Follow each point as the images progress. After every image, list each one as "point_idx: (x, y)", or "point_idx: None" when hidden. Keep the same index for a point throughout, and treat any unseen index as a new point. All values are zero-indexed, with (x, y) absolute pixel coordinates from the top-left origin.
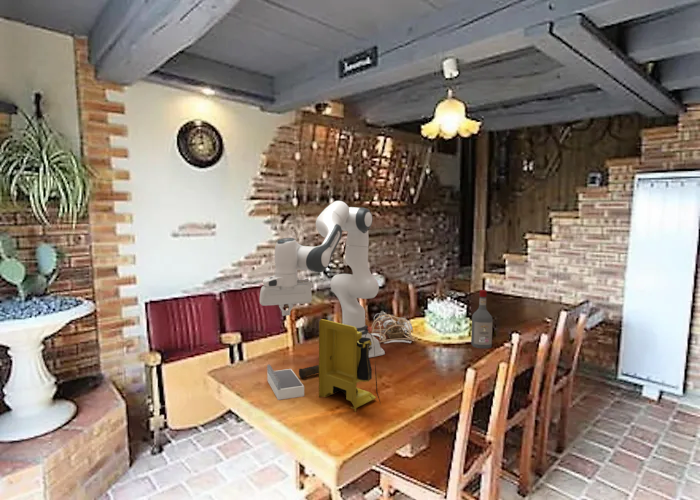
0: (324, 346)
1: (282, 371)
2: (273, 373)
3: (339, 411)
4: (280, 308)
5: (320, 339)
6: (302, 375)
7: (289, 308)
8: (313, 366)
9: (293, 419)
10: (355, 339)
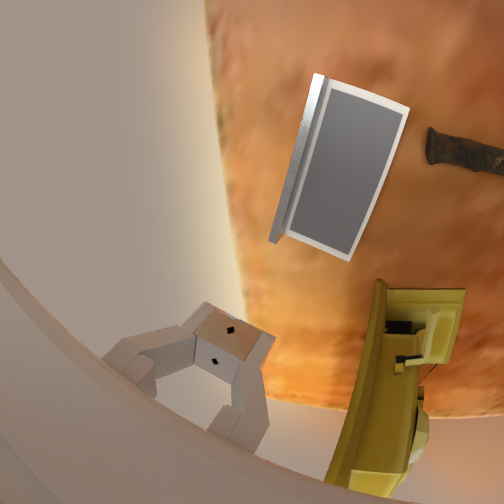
0: (369, 398)
1: (366, 112)
2: (290, 169)
3: (354, 347)
4: (149, 338)
5: (355, 413)
6: (426, 156)
7: (234, 401)
8: (484, 153)
9: (267, 308)
10: None
